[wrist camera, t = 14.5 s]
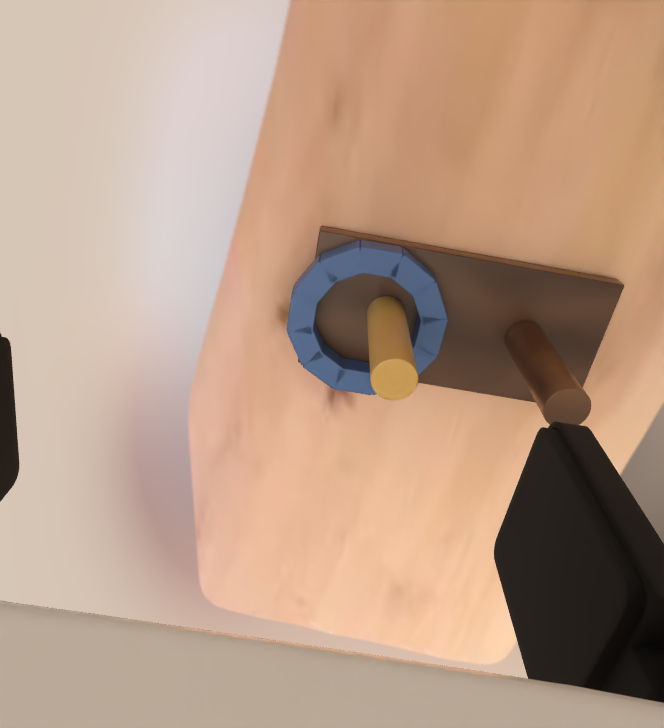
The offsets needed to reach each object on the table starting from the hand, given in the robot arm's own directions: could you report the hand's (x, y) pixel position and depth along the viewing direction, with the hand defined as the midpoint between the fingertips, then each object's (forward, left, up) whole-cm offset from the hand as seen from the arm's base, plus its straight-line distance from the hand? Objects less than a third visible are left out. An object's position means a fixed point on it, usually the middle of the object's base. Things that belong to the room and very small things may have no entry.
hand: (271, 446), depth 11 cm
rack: (+8, +10, -28) cm, 31 cm away
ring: (+8, +4, -27) cm, 28 cm away
